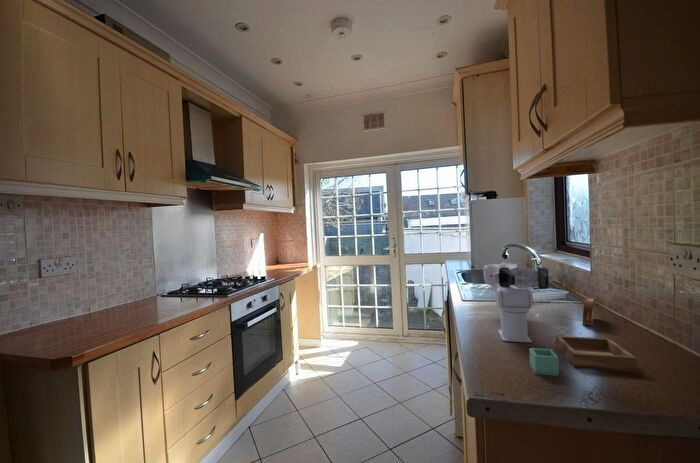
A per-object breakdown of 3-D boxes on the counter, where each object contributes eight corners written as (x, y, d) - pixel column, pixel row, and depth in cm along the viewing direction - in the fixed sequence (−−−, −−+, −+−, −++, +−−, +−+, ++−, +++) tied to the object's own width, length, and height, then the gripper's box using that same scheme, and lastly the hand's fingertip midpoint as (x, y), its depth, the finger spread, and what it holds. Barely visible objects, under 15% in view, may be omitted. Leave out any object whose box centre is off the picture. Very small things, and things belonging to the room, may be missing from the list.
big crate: (555, 347, 93) (555, 335, 93) (609, 351, 90) (608, 338, 90) (574, 367, 81) (574, 354, 80) (636, 372, 77) (636, 358, 77)
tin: (585, 316, 121) (584, 294, 120) (595, 317, 119) (595, 295, 118) (581, 327, 109) (581, 302, 109) (593, 329, 107) (593, 304, 107)
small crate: (529, 365, 83) (529, 347, 83) (551, 366, 82) (551, 349, 82) (535, 374, 78) (535, 355, 78) (558, 376, 77) (558, 357, 77)
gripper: (490, 261, 98) (498, 264, 85) (544, 262, 94) (561, 265, 81) (491, 285, 98) (499, 291, 85) (545, 286, 94) (562, 293, 81)
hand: (530, 280), depth 83 cm, fingers open, 7 cm apart
